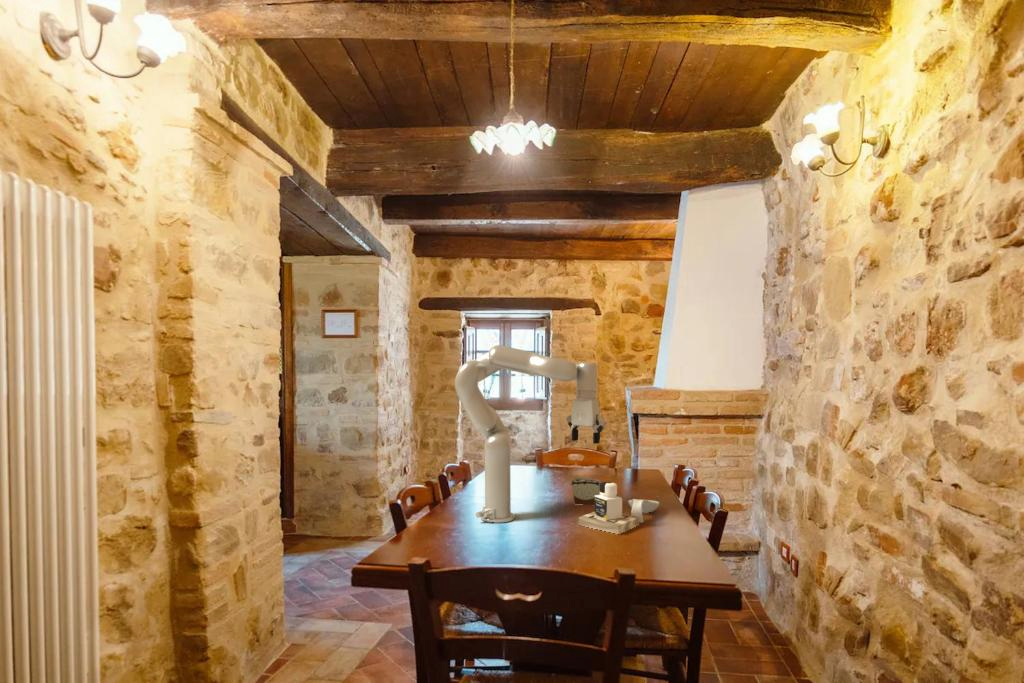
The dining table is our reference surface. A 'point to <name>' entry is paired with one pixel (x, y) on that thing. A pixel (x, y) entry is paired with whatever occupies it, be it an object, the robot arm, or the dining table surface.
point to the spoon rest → (642, 507)
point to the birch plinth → (609, 523)
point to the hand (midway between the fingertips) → (585, 441)
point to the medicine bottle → (608, 502)
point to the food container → (585, 490)
